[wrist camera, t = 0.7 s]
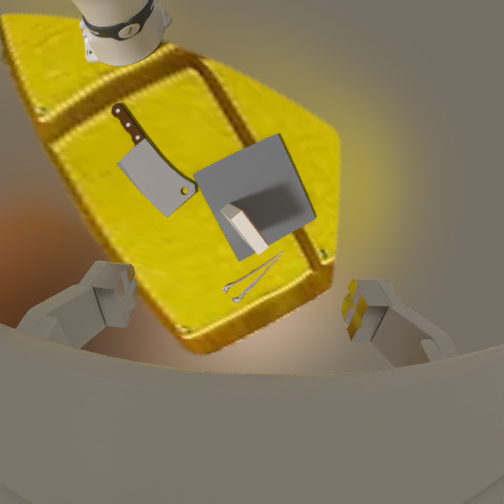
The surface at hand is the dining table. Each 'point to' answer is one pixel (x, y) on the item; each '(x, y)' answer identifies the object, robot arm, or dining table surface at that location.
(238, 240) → the mat
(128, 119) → the kitchen cleaver
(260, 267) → the tweezers
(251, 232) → the tile
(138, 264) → the dining table surface
